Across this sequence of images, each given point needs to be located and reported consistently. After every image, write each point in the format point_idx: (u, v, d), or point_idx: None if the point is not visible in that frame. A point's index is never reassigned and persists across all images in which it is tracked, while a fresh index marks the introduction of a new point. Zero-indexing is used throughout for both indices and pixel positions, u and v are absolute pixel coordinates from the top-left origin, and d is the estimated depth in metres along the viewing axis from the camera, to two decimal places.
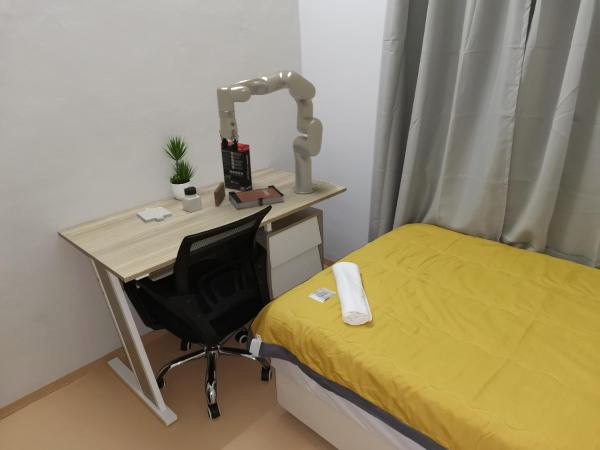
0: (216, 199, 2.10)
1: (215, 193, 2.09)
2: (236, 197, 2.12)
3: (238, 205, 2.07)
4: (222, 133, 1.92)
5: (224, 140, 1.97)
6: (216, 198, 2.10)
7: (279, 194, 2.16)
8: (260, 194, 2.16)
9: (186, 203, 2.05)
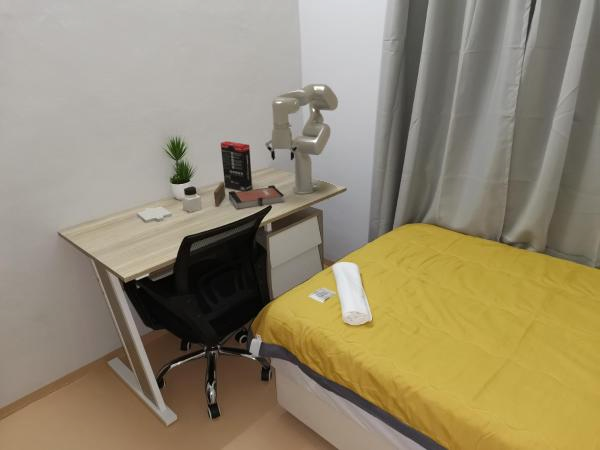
0: (216, 199, 2.10)
1: (215, 193, 2.09)
2: (236, 197, 2.12)
3: (238, 205, 2.07)
4: (277, 144, 2.01)
5: (273, 151, 2.05)
6: (216, 198, 2.10)
7: (279, 194, 2.16)
8: (260, 194, 2.16)
9: (186, 203, 2.05)
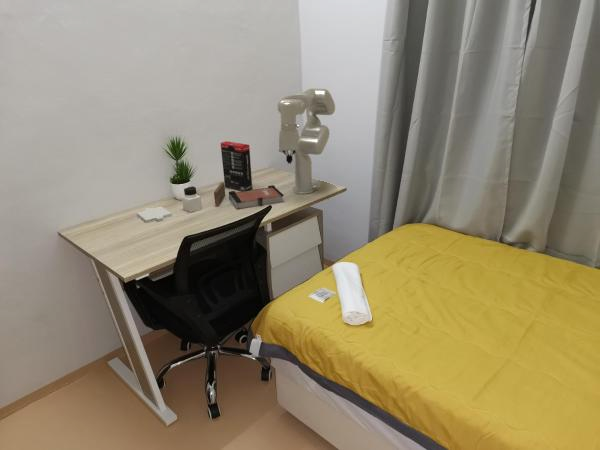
0: (216, 199, 2.10)
1: (215, 193, 2.09)
2: (236, 197, 2.13)
3: (238, 205, 2.07)
4: (284, 146, 2.02)
5: (288, 155, 2.06)
6: (216, 198, 2.10)
7: (279, 194, 2.16)
8: (260, 194, 2.16)
9: (186, 203, 2.05)
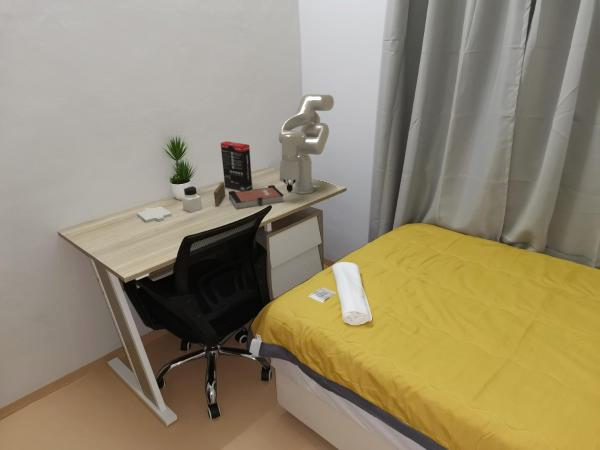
0: (216, 199, 2.10)
1: (215, 193, 2.09)
2: (236, 197, 2.13)
3: (237, 205, 2.08)
4: (285, 175, 2.08)
5: (289, 184, 2.12)
6: (216, 198, 2.10)
7: (279, 194, 2.16)
8: (260, 194, 2.17)
9: (186, 203, 2.05)
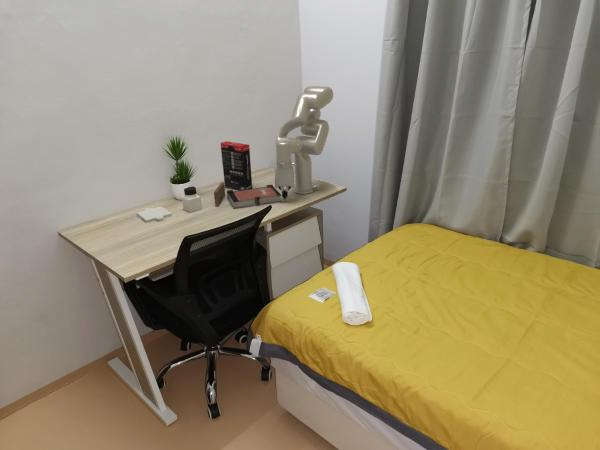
0: (216, 199, 2.10)
1: (215, 193, 2.09)
2: (234, 196, 2.13)
3: (235, 204, 2.08)
4: (280, 182, 2.10)
5: (284, 191, 2.14)
6: (216, 198, 2.10)
7: (276, 193, 2.16)
8: (257, 193, 2.17)
9: (186, 203, 2.05)
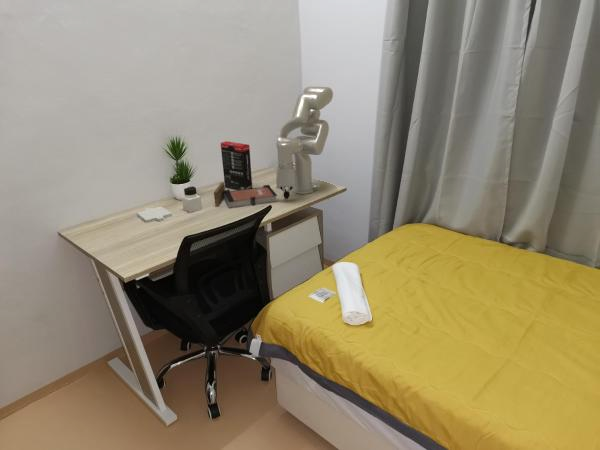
0: (216, 199, 2.10)
1: (215, 193, 2.09)
2: (230, 196, 2.14)
3: (230, 204, 2.09)
4: (281, 183, 2.10)
5: (286, 191, 2.14)
6: (216, 198, 2.10)
7: (272, 194, 2.16)
8: (253, 193, 2.17)
9: (186, 203, 2.05)
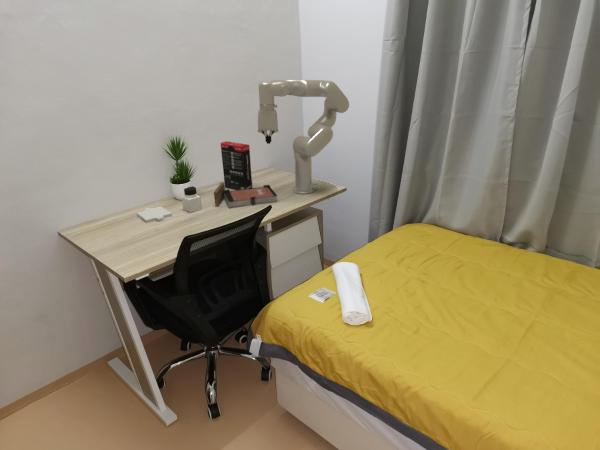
0: (216, 199, 2.10)
1: (215, 193, 2.09)
2: (230, 196, 2.15)
3: (230, 204, 2.09)
4: (263, 126, 2.05)
5: (267, 135, 2.09)
6: (216, 198, 2.10)
7: (272, 194, 2.16)
8: (253, 193, 2.18)
9: (186, 203, 2.05)
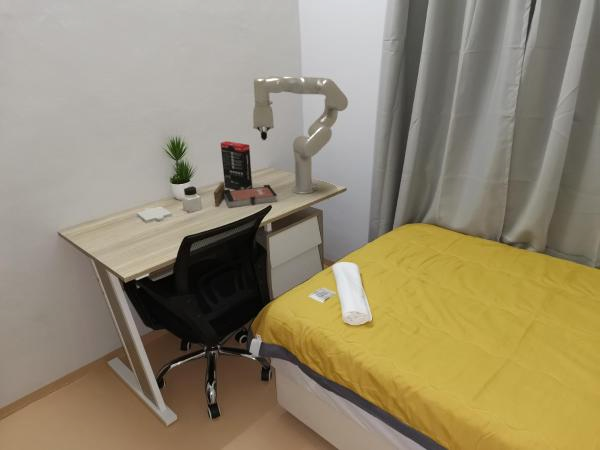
0: (216, 199, 2.10)
1: (215, 193, 2.09)
2: (230, 195, 2.15)
3: (230, 203, 2.10)
4: (258, 122, 2.06)
5: (263, 132, 2.09)
6: (216, 198, 2.10)
7: (272, 194, 2.16)
8: (253, 193, 2.18)
9: (186, 203, 2.05)
